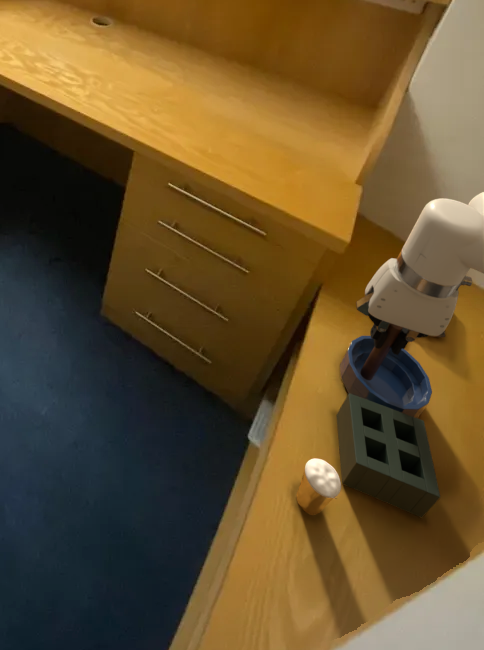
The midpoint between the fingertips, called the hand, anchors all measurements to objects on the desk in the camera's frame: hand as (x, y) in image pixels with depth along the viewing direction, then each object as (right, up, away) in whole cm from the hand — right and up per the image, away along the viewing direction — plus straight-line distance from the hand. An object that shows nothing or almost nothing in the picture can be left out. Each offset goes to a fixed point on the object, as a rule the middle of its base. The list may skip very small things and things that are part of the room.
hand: (384, 342), depth 85 cm
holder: (-5, -16, -5) cm, 18 cm away
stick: (0, -8, +5) cm, 10 cm away
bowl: (+2, -11, +5) cm, 12 cm away
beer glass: (-18, -19, -9) cm, 28 cm away
